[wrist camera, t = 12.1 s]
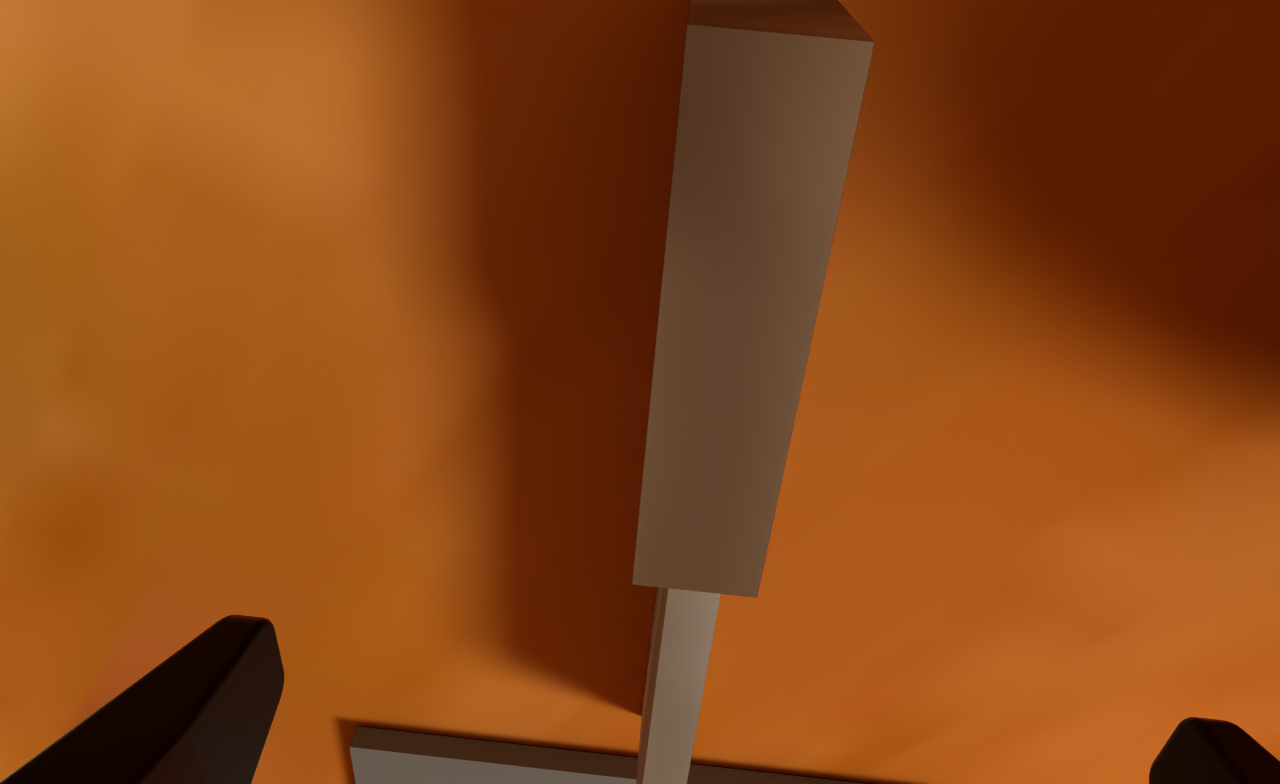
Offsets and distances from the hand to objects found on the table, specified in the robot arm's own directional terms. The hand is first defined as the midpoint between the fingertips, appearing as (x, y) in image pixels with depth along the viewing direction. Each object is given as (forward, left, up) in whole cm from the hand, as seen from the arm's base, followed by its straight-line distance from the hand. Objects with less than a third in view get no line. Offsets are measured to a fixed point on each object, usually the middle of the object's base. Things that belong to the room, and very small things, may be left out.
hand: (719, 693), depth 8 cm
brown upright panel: (0, +6, -12) cm, 14 cm away
